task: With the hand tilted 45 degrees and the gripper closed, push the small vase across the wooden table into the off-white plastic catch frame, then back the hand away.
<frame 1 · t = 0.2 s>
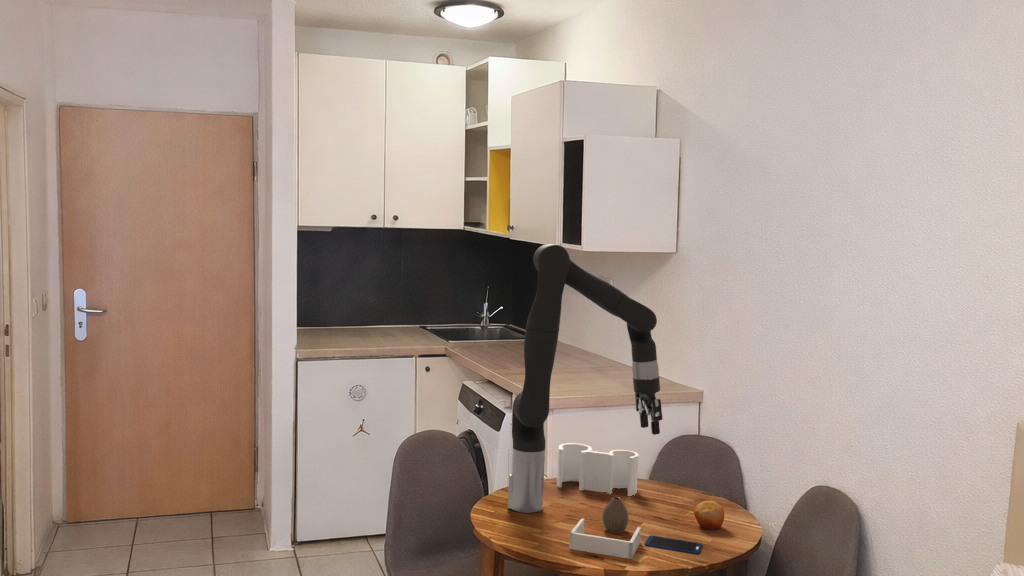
hand: (650, 430, 238), 22 cm above the table, tool pointing down, fingers open, 8 cm apart
catch frame: (605, 545, 207), on the table
bracket: (596, 489, 256), on the table
cell phone: (673, 547, 210), on the table
vase: (614, 531, 219), on the table
fruit: (708, 527, 225), on the table
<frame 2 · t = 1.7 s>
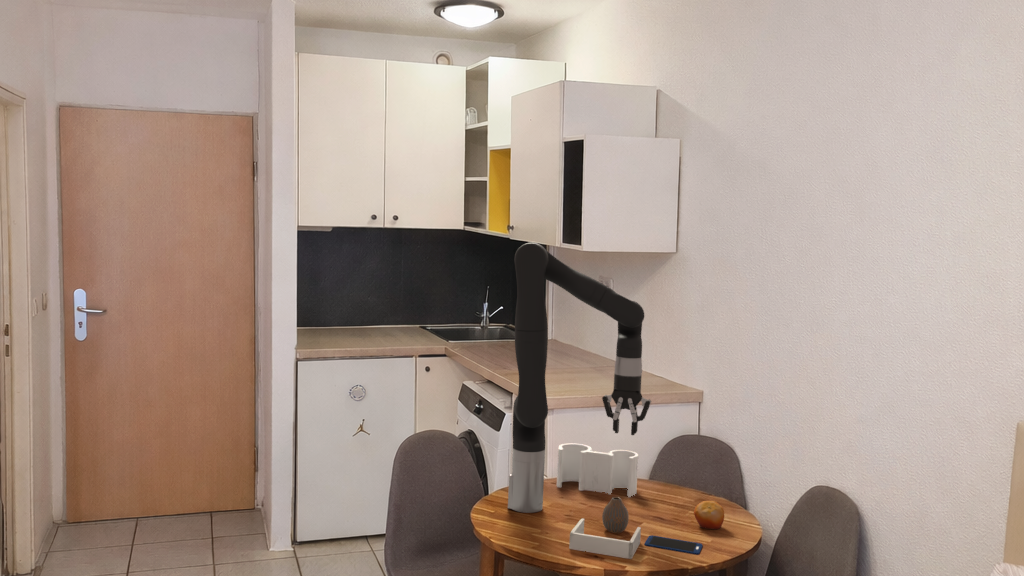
hand: (624, 433, 230), 23 cm above the table, tool pointing down, fingers open, 4 cm apart
nothing on the table moved.
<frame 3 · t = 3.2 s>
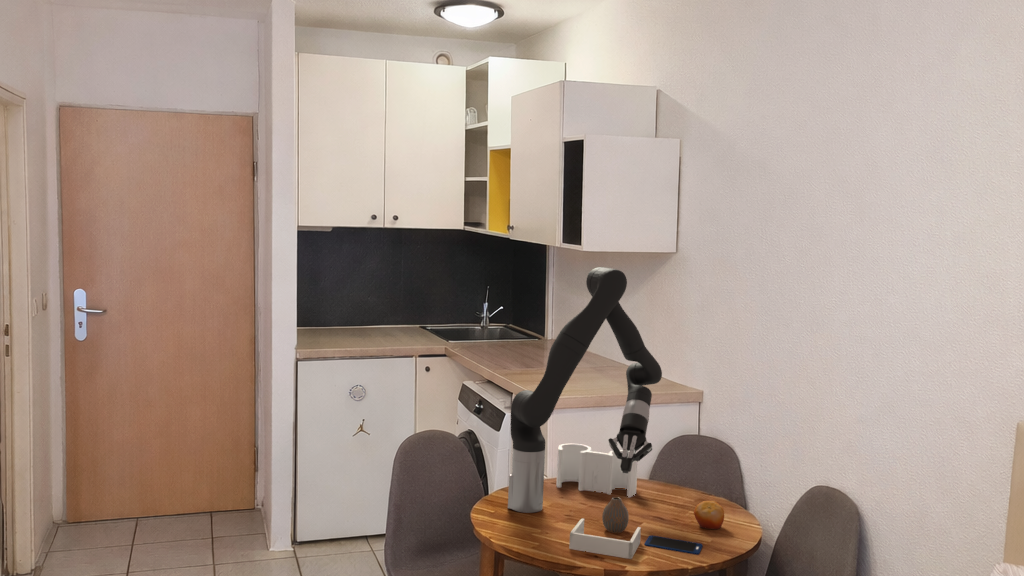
hand: (625, 471, 228), 13 cm above the table, tool tilted 45°, fingers closed
nothing on the table moved.
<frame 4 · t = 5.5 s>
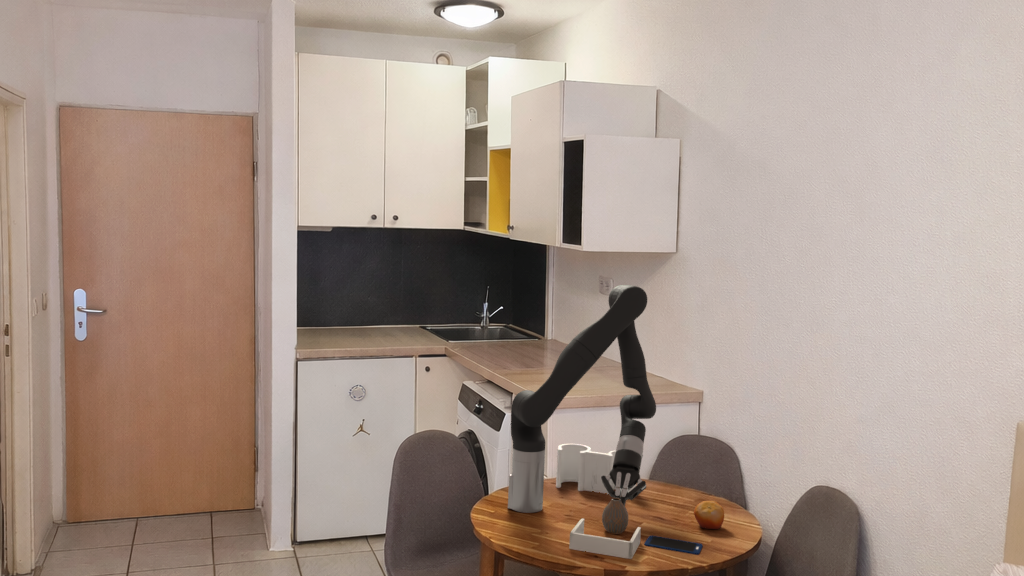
hand: (618, 511, 221), 4 cm above the table, tool tilted 45°, fingers closed
vase: (614, 532, 218), on the table, touching gripper
everything else where it was.
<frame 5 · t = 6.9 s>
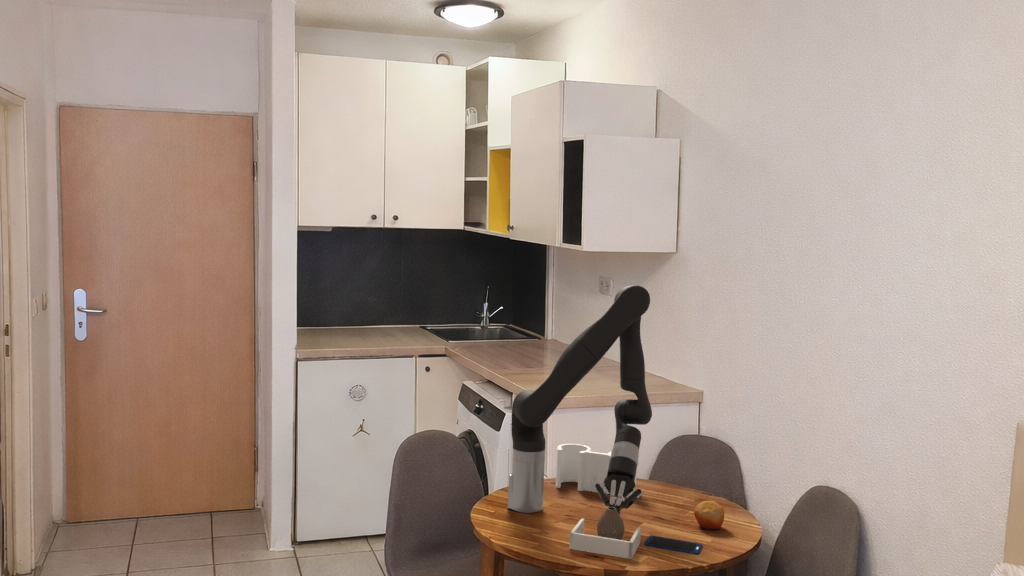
hand: (612, 520, 214), 4 cm above the table, tool tilted 45°, fingers closed
vase: (609, 542, 210), on the table, touching gripper
everything else where it was.
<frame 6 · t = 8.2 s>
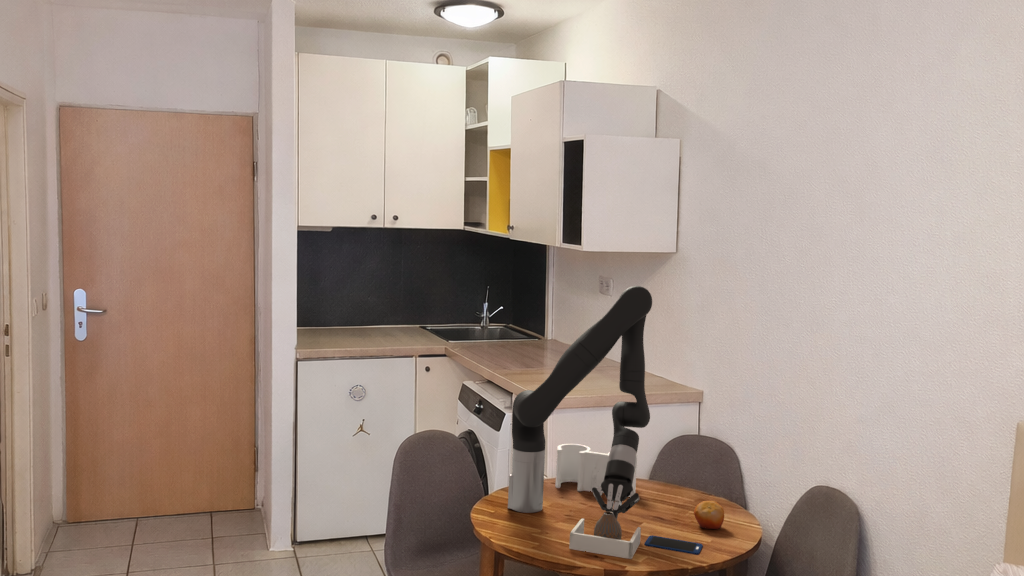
hand: (609, 525, 210), 4 cm above the table, tool tilted 45°, fingers closed
vase: (607, 547, 207), on the table, touching gripper
everything else where it was.
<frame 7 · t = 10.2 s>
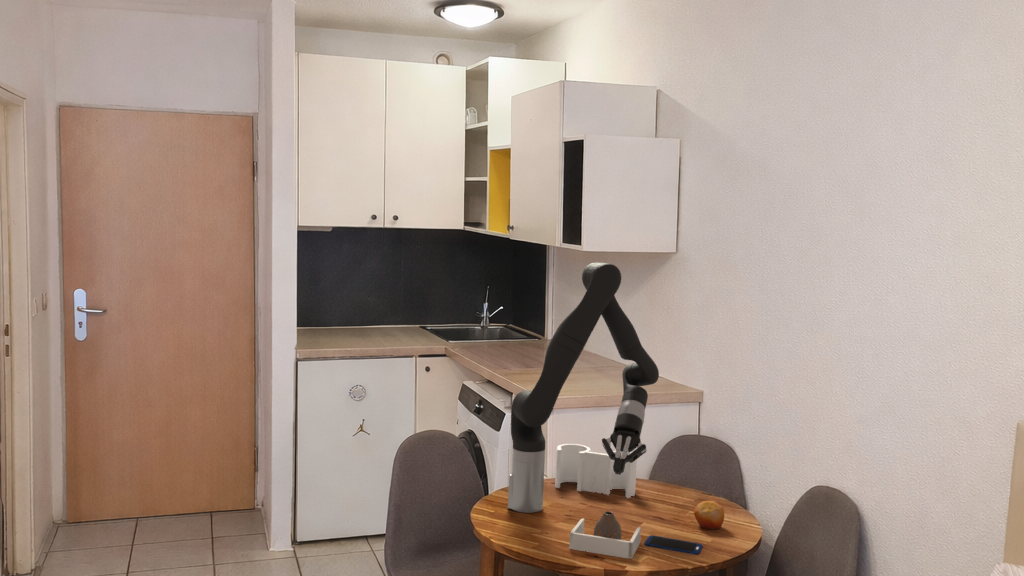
hand: (617, 472, 222), 14 cm above the table, tool tilted 45°, fingers closed
vase: (607, 548, 207), on the table
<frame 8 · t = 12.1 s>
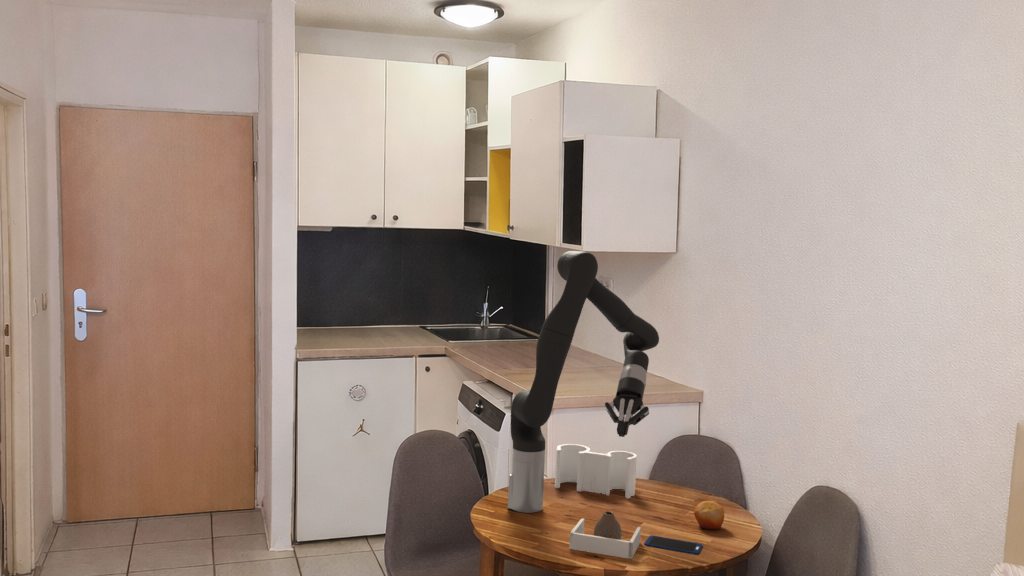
hand: (621, 435, 225), 24 cm above the table, tool tilted 45°, fingers closed
at the end: vase inside the target area on the catch frame (0.6 cm from its centre), point 0.0 cm above the catch frame's base; vase moved 12.6 cm from its start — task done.
